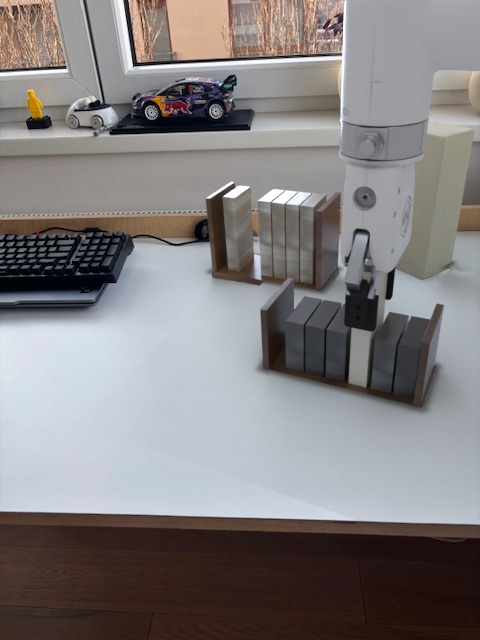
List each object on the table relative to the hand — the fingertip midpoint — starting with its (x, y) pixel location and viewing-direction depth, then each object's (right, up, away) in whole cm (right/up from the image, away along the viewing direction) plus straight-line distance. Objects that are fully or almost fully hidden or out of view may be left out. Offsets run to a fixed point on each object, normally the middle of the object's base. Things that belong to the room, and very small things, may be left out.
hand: (369, 310), depth 58 cm
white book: (0, -7, +4) cm, 8 cm away
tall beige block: (+15, +7, +28) cm, 32 cm away
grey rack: (-1, -7, +6) cm, 9 cm away
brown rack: (-8, +6, +28) cm, 30 cm away
